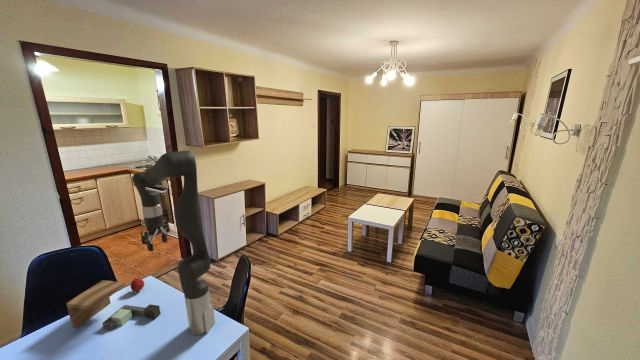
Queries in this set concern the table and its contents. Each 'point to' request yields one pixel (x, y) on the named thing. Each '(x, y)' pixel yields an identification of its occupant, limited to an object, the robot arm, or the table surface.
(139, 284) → the red rounded piece
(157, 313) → the mallet
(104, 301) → the walnut shelf
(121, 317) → the block
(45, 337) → the table surface
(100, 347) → the table surface
